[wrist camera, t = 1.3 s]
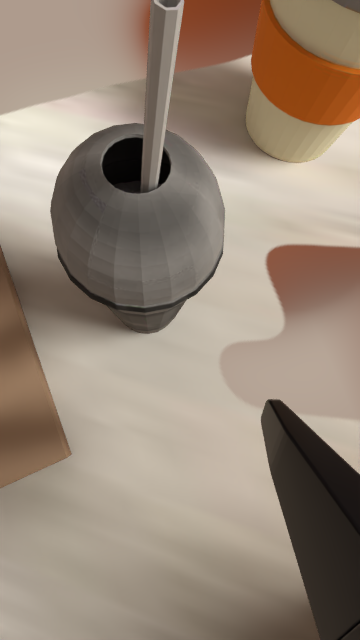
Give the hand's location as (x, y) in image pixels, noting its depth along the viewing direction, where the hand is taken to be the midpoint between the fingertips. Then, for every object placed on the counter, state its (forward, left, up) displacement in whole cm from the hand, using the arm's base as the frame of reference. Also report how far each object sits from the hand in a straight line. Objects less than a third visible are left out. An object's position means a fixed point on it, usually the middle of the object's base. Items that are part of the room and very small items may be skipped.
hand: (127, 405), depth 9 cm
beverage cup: (+7, -3, -13) cm, 15 cm away
